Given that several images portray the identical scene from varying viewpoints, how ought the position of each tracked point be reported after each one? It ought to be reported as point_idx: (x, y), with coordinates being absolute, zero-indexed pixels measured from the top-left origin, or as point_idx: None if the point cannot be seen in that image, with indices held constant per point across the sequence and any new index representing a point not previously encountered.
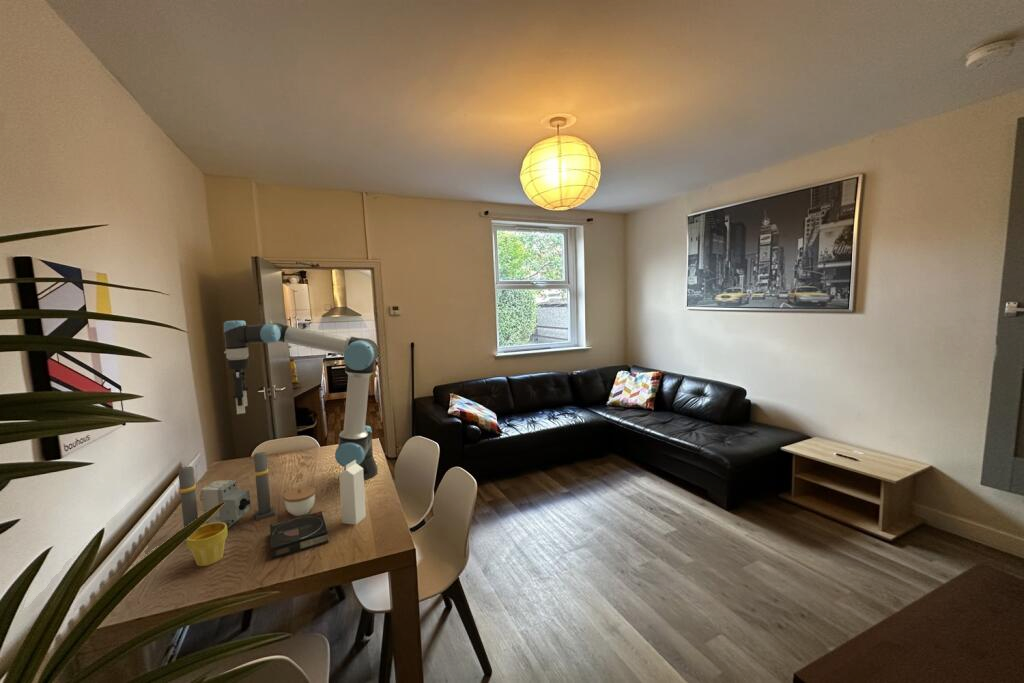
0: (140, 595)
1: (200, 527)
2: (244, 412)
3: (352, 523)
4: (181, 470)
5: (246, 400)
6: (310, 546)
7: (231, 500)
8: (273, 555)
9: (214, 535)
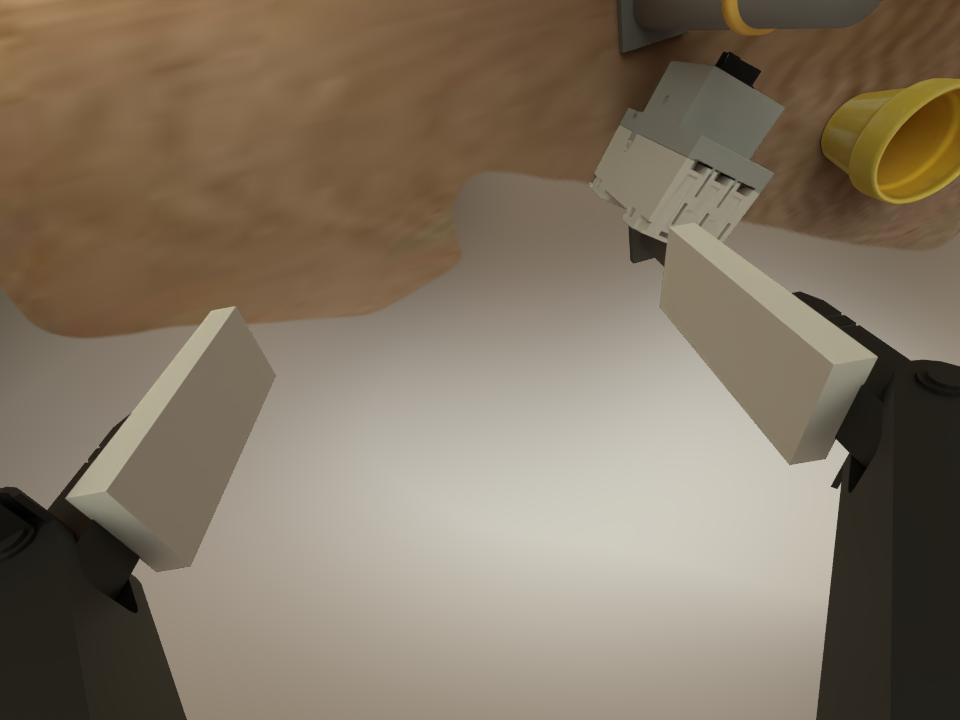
0: (883, 239)
1: (876, 179)
2: (698, 233)
3: None
4: None
5: (205, 360)
6: None
7: (772, 123)
8: None
9: None
